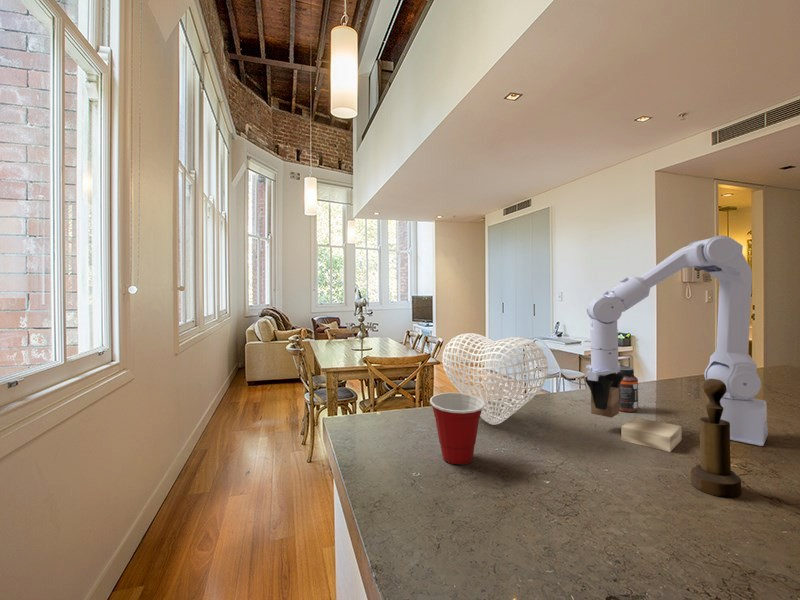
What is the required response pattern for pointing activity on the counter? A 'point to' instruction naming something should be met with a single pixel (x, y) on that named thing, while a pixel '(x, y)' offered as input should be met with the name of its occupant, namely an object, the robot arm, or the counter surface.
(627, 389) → the supplement bottle
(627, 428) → the birch base block
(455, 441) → the plastic cup
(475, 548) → the counter surface
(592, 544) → the counter surface
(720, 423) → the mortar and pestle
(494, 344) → the heart
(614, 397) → the walnut block
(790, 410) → the counter surface
